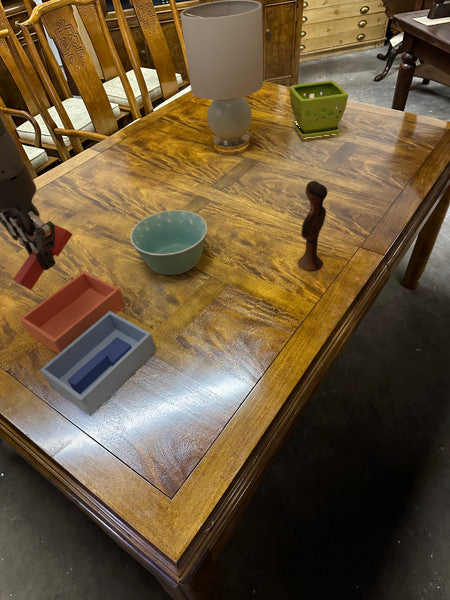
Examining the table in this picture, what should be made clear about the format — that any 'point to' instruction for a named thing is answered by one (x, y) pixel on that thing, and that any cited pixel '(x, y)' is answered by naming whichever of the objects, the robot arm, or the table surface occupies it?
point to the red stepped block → (32, 266)
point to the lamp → (225, 65)
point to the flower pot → (318, 108)
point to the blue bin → (88, 348)
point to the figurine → (313, 226)
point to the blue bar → (98, 364)
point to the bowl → (170, 240)
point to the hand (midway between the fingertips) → (45, 264)
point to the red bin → (72, 311)
